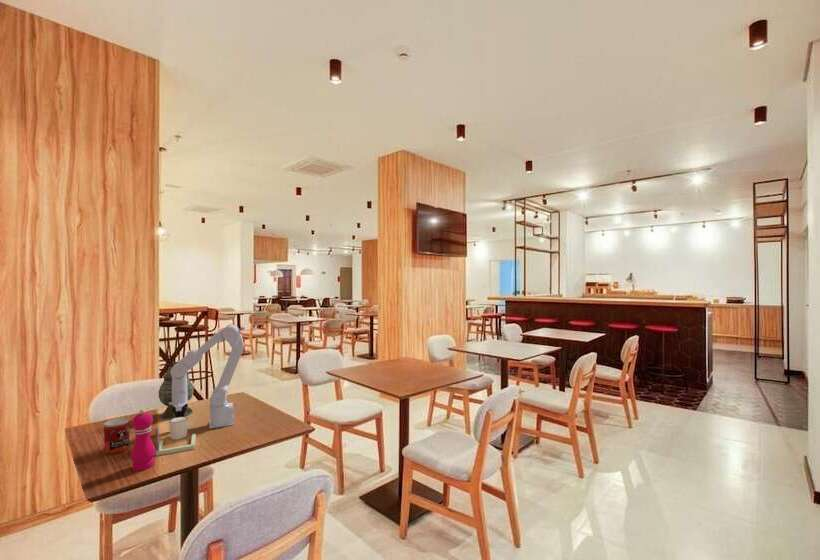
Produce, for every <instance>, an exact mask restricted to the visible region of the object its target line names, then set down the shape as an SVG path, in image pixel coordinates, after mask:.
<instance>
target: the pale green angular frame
mask: <svg viewBox="0 0 820 560" xmlns="http://www.w3.org/2000/svg"><path fill="white" fill-rule="evenodd" d="M153 435H156V436H155V437H156V441H155V442H156V443H155V444H156V449H155V450H156V453H155V456H156V457H157V456H158V457H159V456H164V455H169V454H175V453H180V452H186V451H190V450H195V447H196V441H197V440H196V439H197V437H196V436H197V435H196V433H194V434H193V433H192V435H191V440H190V444H186V445H181V446H175V447H169V448H168V447H167V448H164V449H163V446H164V439H160V428H159V427H156V428H153V429H152V428H151V431H150V436H153Z"/></svg>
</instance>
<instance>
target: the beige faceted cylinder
mask: <svg viewBox="0 0 820 560" xmlns="http://www.w3.org/2000/svg"><path fill="white" fill-rule="evenodd" d="M188 423H189V417H188V416H186V417H178V418H174V419H171V420H168V425H169V434H170V439H171V440H180V439H184V438H186V437H187V435H188V425H189V424H188Z"/></svg>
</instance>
